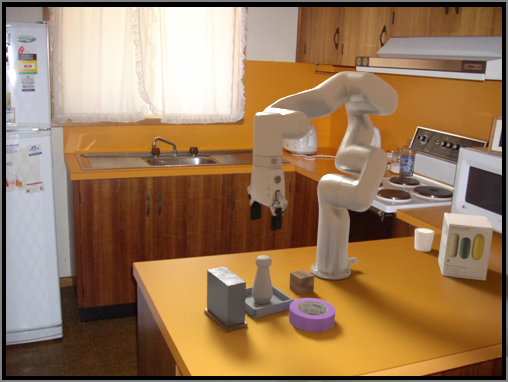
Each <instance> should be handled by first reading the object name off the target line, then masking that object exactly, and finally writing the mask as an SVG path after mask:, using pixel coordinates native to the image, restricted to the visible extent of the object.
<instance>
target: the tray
mask: <svg viewBox="0 0 508 382" xmlns="http://www.w3.org/2000/svg"><path fill="white" fill-rule="evenodd" d="M252 289H253V286H248V287H246V300H245V313H247V314H248V315H249V316H251V317H252V318H253V319H257V318H261V317H265V316H269V315H272V314H276V313H279V312H282V311H286V310H287V311H288V310H289V308H290V304H291V303H292V302H293V301H295V299H294V298H292V297H291V296H289V295H288V294H287V293H285V292H284V291H282V290H281V289H279V288H278V287H276V286H274V285H273V284H272V290H273V296H272V298H271V300H270V302H269V303H268V304H265V305H261V304H257V303H256V302H255V301H254V299H253V296H252Z"/></svg>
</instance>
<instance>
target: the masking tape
mask: <svg viewBox="0 0 508 382" xmlns="http://www.w3.org/2000/svg"><path fill="white" fill-rule="evenodd" d="M288 311H289V312H288V321H289V323H290V324H291V325H292V327H294V328H295V329H298V330H301V331H305V332H309V333H320V332H327V331H328V330H331V329H332V328H333V327H334V325H335V317H336V308H335V307H334V305H333V304H332V303H330V302H328V301H327V300H323V299H321V298H320V299H319V298H313V297H303V298H301V297H300V298H297V299H294V301H293V302H292V303H291V304H290V308H289V309H288Z"/></svg>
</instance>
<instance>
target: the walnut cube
mask: <svg viewBox="0 0 508 382" xmlns="http://www.w3.org/2000/svg"><path fill="white" fill-rule="evenodd" d="M314 286H315V275H314V274H313V273H312V272H309V271H307V270H306V269H301V270H296V271H291V272H289V289H290V290H291V291H293V292H294V293H296V294H297V295H304V294H308V293H312V292H314V289H315V287H314Z"/></svg>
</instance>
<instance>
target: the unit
mask: <svg viewBox="0 0 508 382" xmlns="http://www.w3.org/2000/svg"><path fill="white" fill-rule="evenodd" d="M206 274H207V275H206V285H207V286H206V308H204V309H203V311H204V313H205V314H206V315H207V316H208V317H209V318H210V319H211V320H213V322H214V323H216V325H217V326H218V327H220V328H221V329H222V330H223V331H224V332H225V333H230V332H234V331H237V330H241V329H244V328H247V327H248V324H249V323H248V322H247V320H246V311H245V300H246V288H247V281H246V280H244V279H243V278H241V277H240V276H239V275H237V274H236V273H235V272H233V271H232V270H230V269H229V268H227V267H226V266H220V267H215V268H209V269H206Z"/></svg>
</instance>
